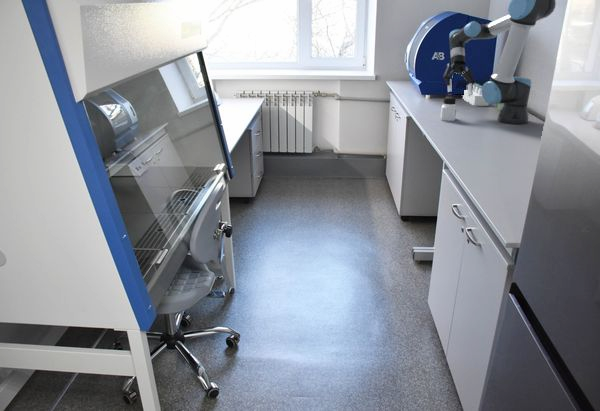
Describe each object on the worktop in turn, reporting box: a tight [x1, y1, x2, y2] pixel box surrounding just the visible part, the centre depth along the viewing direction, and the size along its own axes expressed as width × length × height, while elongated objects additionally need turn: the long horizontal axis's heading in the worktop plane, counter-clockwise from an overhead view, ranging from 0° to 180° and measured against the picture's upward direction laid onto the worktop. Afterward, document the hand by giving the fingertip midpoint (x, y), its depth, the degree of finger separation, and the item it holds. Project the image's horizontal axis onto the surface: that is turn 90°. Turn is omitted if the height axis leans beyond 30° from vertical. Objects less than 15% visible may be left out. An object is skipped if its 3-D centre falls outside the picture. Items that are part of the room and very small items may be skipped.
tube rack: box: [462, 82, 490, 107], centre depth 307 cm, size 22×9×11 cm, turn 1°
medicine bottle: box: [440, 96, 457, 122], centre depth 264 cm, size 7×7×12 cm
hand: (460, 93), depth 264 cm, fingers open, 13 cm apart
